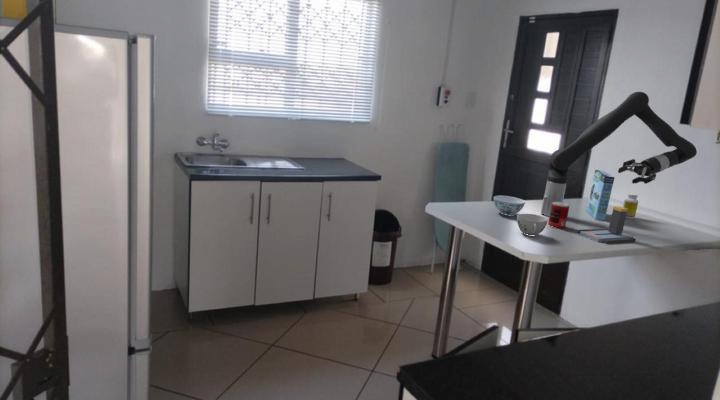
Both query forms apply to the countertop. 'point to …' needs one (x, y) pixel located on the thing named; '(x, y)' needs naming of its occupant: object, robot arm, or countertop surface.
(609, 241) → the dark grey long bar
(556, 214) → the canned food
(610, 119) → the robot arm
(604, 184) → the gum box
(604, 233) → the blue rectangular board
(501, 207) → the chinaware
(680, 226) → the countertop surface
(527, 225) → the teacup
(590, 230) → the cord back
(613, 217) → the block
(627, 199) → the supplement bottle
